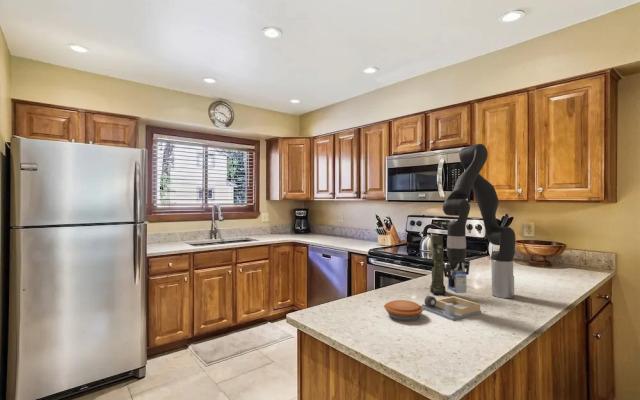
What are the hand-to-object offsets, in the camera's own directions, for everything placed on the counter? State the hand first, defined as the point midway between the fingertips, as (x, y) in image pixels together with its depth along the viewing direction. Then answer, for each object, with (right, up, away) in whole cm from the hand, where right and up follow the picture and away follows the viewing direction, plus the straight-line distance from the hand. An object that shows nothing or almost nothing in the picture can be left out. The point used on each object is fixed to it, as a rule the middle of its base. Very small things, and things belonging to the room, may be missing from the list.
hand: (456, 286), depth 138 cm
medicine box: (0, -2, 0) cm, 2 cm away
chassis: (-3, -10, 0) cm, 11 cm away
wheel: (-11, -9, +1) cm, 14 cm away
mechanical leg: (+2, -10, +27) cm, 29 cm away
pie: (-24, -11, -6) cm, 27 cm away
